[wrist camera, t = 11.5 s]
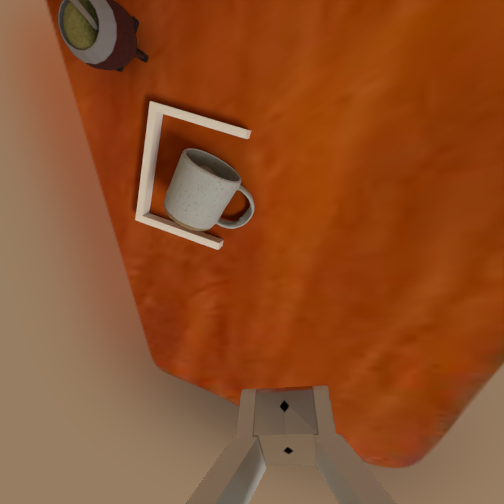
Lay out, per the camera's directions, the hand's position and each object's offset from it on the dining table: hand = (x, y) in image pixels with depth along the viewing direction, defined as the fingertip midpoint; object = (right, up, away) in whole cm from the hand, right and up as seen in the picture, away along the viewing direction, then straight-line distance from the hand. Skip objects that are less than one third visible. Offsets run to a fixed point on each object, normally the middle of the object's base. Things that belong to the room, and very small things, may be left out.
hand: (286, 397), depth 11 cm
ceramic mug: (-5, +13, +31) cm, 34 cm away
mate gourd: (-16, +31, +27) cm, 45 cm away
